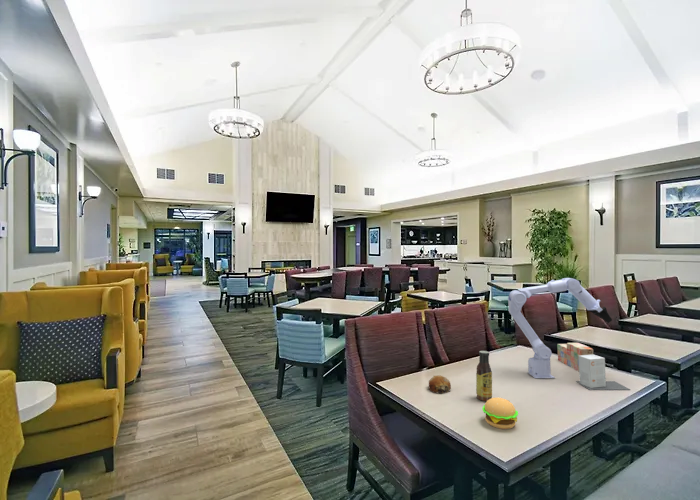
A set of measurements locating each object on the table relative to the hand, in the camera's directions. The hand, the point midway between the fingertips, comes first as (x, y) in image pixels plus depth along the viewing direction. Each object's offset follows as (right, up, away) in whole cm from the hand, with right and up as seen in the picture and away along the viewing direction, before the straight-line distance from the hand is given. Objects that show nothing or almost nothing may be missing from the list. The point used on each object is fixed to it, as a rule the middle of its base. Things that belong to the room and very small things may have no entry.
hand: (606, 319), depth 166 cm
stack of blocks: (-3, -29, +20) cm, 35 cm away
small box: (-12, -29, -8) cm, 32 cm away
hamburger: (-69, -30, -40) cm, 85 cm away
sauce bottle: (-66, -30, -19) cm, 75 cm away
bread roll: (-82, -31, -8) cm, 88 cm away
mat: (-8, -29, -8) cm, 31 cm away
